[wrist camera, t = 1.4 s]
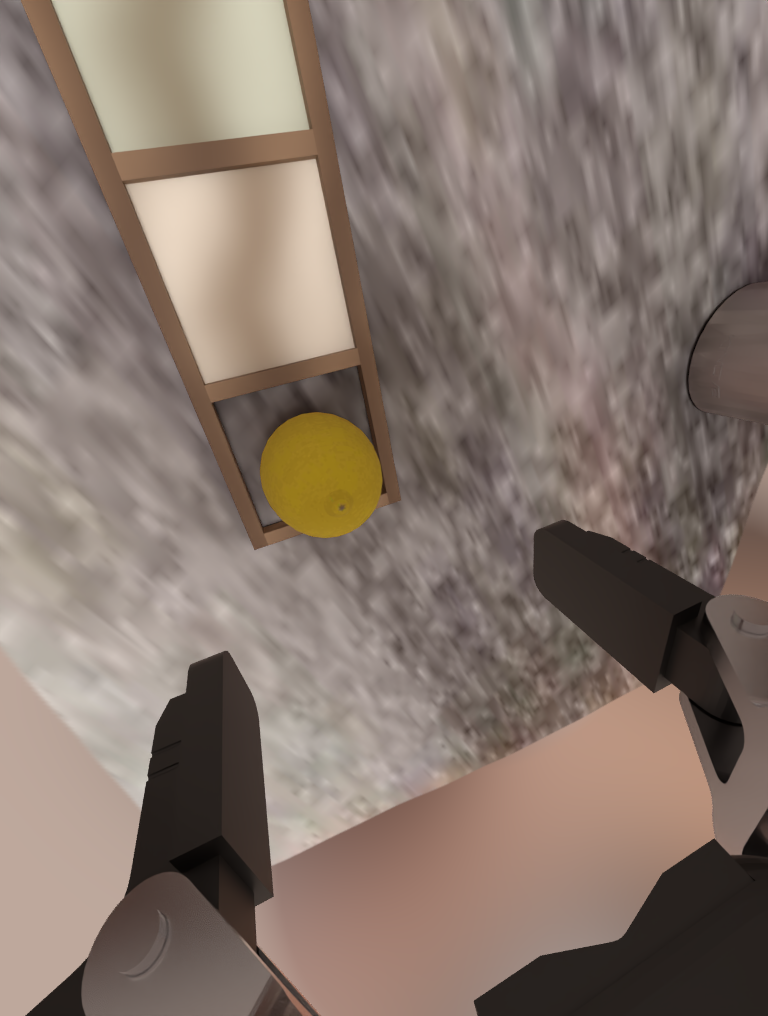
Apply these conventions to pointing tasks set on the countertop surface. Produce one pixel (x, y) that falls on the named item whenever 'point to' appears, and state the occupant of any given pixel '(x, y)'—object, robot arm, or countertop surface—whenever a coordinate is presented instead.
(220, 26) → the board
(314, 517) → the lemon
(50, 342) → the countertop surface
